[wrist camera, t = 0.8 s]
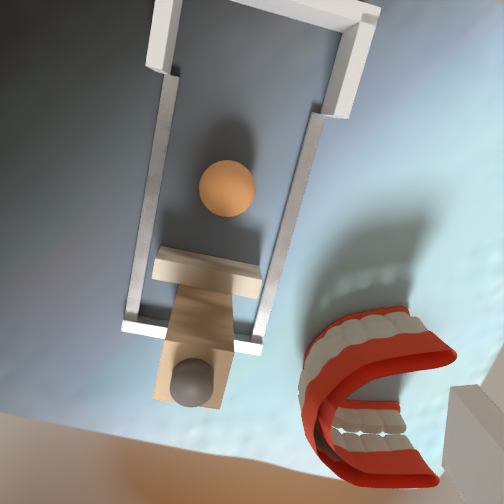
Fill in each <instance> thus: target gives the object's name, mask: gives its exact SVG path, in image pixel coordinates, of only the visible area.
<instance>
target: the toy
mask: <svg viewBox="0 0 504 504" xmlns="http://www.w3.org/2000/svg"><path fill="white" fill-rule="evenodd" d="M456 359H457V353H456V352H455V351H454V350H453V349H452V348H450V347H449V346H448V345H447V344H445V343H444V342H443V341H442V340H441V339H439V338H438V337H437V336H436V335H435V334H434V333H433V332H431V331H429V330H427V329H426V328H425V326H424V325H423V323H422V322H421V320H420V319H419V318H417V317H410V314H409V311H408V309H407V308H405V307H403V306H399V307H391V308H388V309H385V308H383V309H376V310H370V311H366V312H364V313H363V312H359V313H355V314H351V315H348V316H346V317H344V318H342V319H340V320H338V321H336V322H334V323H333V324H331V325H330V326H328V327H327V328H326V329H325V331H324V332H323V333H322V334H320V335H319V336H318V337H317V338H316V339H315V340H314V341H313V342H312V344H311V345H310V346H309V349H308V351H307V353H306V355H305V360H304V366H303V371H302V372H301V375H300V380H299V385H298V390H299V395H298V399H299V403H300V408H301V417H302V422H303V426H304V431H305V435H306V437H307V439H308V441H309V443H310V445H311V447H312V448H313V450H314V451H315V453H316V454H317V456H318V457H319V458H320V460H321V461H322V462H323V463H324V464H325V465H326V466H327V467H329V468H330V469H331V470H332V471H333V472H334V473H335V474H336V475H337V476H338V477H340V478H341V479H343V480H345V481H347V482H350V483H352V484H354V485H356V486H360V487H371V488H428V487H435V486H436V485H438V483H439V482H440V479H439V477H438V476H437V475H436V474H435V473H434V472H433V471H432V470H431V469H430V468H429V467H428V465H427V464H426V463H425V461H424V460H423V458H422V457H421V455H420V453H419V452H418V451H417V450H415V449H414V448H413V446H412V444H411V443H410V441H409V439H408V438H407V437H406V436H405V435H400V434H401V433H404V432H405V431H406V424H405V422H404V420H403V419H402V417H401V415H400V406H399V404H398V402H396V401H356V400H347V399H346V398H347V397H348V396H349V395H350V394H352V393H353V392H354V391H356V390H357V389H358V388H360V387H362V386H363V385H365V384H366V383H368V382H369V381H371V380H374V379H377V378H381V377H385V376H390V375H395V374H401V373H407V372H413V371H420V370H428V369H435V368H439V367H443V366H446V365H449V364H451V363H452V362H454V361H455V360H456ZM331 426H333V427H335V428H338V429H339V428H343V429H344V430H345V431H347V432H354V433H356V432H358V431H360V430H361V431H362V432H363V433H369V434H361V435H360V436H358V435H357V434H354V433H343V434H342V435H341V433H340V432H339V431H338V430H337V429H335V428H333V427H331ZM382 431H383V432H385V433H387V434H389V435H385V436H384V437H381V436H380V435H375V434H380V433H381V432H382Z"/></svg>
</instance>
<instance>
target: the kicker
mask: <svg viewBox="0 0 504 504" xmlns="http://www.w3.org/2000/svg"><path fill="white" fill-rule="evenodd" d="M152 279H156V280H161V281H166V282H172V283H177V284H179V285H178V289H177V293H176V297H175V301H174V305H173V309H172V313H171V316H170V320H169V324H168V328H167V332H166V336H165V340H164V345H163V350H162V355H161V360H160V365H159V370H158V375H157V380H156V385H155V390H154V395H153V399H155V400H162V401H168V402H174V403H178V404H180V405H182V406H186V407H197V406H200V407H207V408H213V409H220V406H221V402H222V399H223V395H224V391H225V387H226V383H227V379H228V376H229V372H230V368H231V364H232V360H233V356H234V353H235V351H234V330H233V309H232V294H234V295H239V296H244V297H249V298H254V299H258V296H259V292H260V288H261V285H262V281H263V279H262V275H261V270H260V266H257V265H253V264H248V263H243V262H238V261H233V260H228V259H223V258H218V257H214V256H209V255H204V254H199V253H194V252H189V251H184V250H179V249H175V248H170V247H165V246H161V247H160V249H159V251H158V254H157V256H156V258H155V263H154V268H153V274H152Z"/></svg>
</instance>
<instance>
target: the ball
mask: <svg viewBox="0 0 504 504" xmlns="http://www.w3.org/2000/svg"><path fill="white" fill-rule="evenodd" d="M199 192H200V197H201V200H202V202H203V203H204V205H205V206H206V207H207V208H208V209H209V210H210V211H211V212H213V213H214V214H216V215H219V216H223V217H232V216H236V215H239V214H241V213H242V212H244V211H245V210H246V209H247V208H248V207H249V206H250V205H251V203H252V201H253V199H254V196H255V182H254V179H253V176H252V174H251V173H250V171H249V170H248V169H247V168H246V167H245V166H243V165H242V164H240V163H238V162H235V161H231V160H222V161H218V162H216V163H214V164H212V165H211V166H209V167H208V168H207V169H206V170H205V172H204V173H203V175H202V177H201V180H200V184H199Z"/></svg>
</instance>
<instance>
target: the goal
mask: <svg viewBox="0 0 504 504" xmlns="http://www.w3.org/2000/svg"><path fill="white" fill-rule="evenodd" d="M182 1H183V0H155V6H154V12H153V19H152V26H151V32H150V39H149V46H148V52H147V59H146V65H145V66H147V67H149V68H150V69H152V70H154V71H156V72H159V73H163V74H169V75H170V72H171V67H172V61H173V55H174V49H175V43H176V37H177V31H178V25H179V19H180V13H181V7H182ZM231 1H234V2H237V3H241V4H244V5H248V6H251V7H255V8H258V9H262V10H265V11H268V12H272V13H275V14H279V15H282V16H286V17H289V18H292V19H296V20H299V21H303V22H306V23H310V24H313V25H317V26H320V27H323V28H327V29H330V30H334V31H337V32H341V33H342V37H341V41H340V44H339V48H338V51H337V55H336V59H335V62H334V66H333V70H332V73H331V77H330V80H329V84H328V88H327V91H326V95H325V98H324V102H323V106H322V109H321V113H320V114H322V115H326V116H328V117H332V118H344V119H349V115H350V112H351V108H352V105H353V102H354V98H355V95H356V92H357V88H358V85H359V81H360V78H361V75H362V71H363V68H364V65H365V61H366V58H367V55H368V51H369V48H370V44H371V41H372V38H373V34H374V31H375V28H376V24H377V21H378V18H379V14H380V11H381V7H377V6H374V5H371V4H367V3H364V2H361V1H357V0H231Z"/></svg>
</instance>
